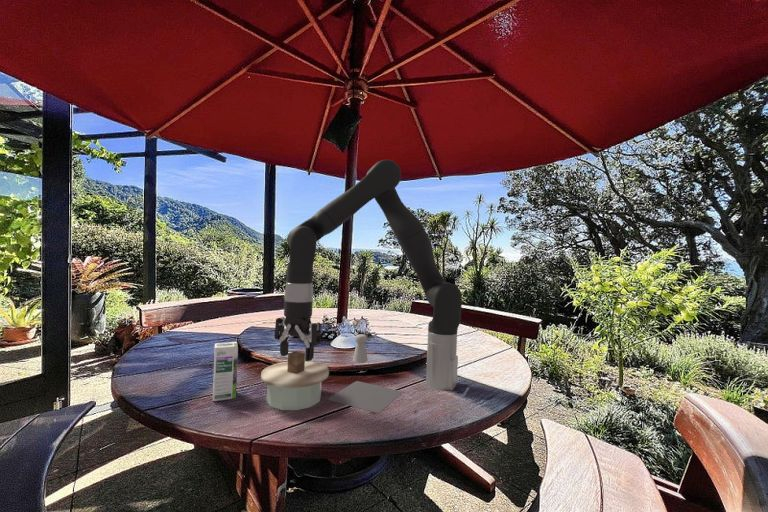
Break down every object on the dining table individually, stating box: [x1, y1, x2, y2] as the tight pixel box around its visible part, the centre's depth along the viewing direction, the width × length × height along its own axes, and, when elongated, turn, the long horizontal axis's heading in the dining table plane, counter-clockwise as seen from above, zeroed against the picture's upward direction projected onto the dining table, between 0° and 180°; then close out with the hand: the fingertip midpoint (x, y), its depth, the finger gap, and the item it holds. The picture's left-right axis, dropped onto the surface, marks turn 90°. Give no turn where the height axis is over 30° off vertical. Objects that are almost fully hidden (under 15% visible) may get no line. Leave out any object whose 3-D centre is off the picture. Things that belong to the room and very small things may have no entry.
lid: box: [260, 350, 330, 388], centre depth 91 cm, size 18×18×6 cm
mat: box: [326, 380, 403, 414], centre depth 95 cm, size 16×16×1 cm
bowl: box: [266, 381, 323, 411], centre depth 91 cm, size 14×14×7 cm
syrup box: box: [212, 341, 239, 402], centre depth 92 cm, size 6×6×14 cm
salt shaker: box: [352, 333, 369, 374], centre depth 115 cm, size 6×6×13 cm
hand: (296, 358), depth 91 cm, fingers open, 8 cm apart
